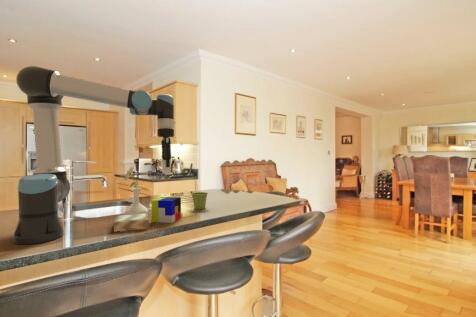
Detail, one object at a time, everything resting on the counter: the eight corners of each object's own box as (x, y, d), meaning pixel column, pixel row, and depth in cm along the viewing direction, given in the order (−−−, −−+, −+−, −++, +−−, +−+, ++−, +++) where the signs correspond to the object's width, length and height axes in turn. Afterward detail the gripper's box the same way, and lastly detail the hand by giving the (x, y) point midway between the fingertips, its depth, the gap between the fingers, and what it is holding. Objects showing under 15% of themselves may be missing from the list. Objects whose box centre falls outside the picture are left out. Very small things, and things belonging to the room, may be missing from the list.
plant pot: (188, 209, 152) (188, 194, 152) (196, 206, 161) (195, 191, 161) (203, 210, 149) (203, 194, 149) (210, 207, 158) (210, 192, 158)
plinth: (114, 232, 108) (113, 222, 108) (116, 224, 121) (116, 215, 121) (148, 228, 113) (148, 219, 113) (147, 221, 125) (147, 212, 125)
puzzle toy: (172, 223, 123) (171, 200, 122) (151, 222, 125) (151, 200, 124) (181, 217, 132) (180, 197, 132) (162, 217, 134) (161, 196, 134)
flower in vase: (134, 212, 146) (133, 165, 145) (152, 213, 143) (152, 165, 142) (117, 217, 133) (116, 166, 133) (137, 219, 130) (136, 166, 130)
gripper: (177, 126, 117) (177, 175, 118) (171, 130, 141) (171, 171, 141) (159, 125, 115) (159, 175, 115) (156, 130, 138) (156, 172, 139)
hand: (166, 173), depth 128 cm, fingers open, 13 cm apart
